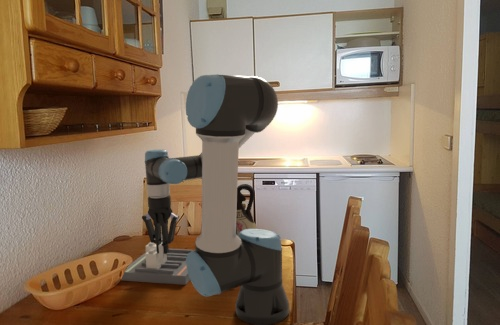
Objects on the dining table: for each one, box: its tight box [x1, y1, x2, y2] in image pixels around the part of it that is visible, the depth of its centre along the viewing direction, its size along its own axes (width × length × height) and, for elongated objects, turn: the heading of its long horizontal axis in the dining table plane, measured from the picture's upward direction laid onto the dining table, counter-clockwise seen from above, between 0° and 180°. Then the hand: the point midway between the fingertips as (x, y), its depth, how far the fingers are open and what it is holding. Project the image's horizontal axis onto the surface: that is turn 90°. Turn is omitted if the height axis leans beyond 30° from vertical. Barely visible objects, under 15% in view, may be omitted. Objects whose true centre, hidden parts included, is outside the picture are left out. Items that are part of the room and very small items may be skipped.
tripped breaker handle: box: [145, 248, 161, 269], centre depth 128 cm, size 3×4×7 cm
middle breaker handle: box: [145, 241, 156, 253], centre depth 135 cm, size 3×4×7 cm
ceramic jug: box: [236, 183, 259, 236], centre depth 139 cm, size 17×15×30 cm
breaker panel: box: [121, 248, 195, 286], centre depth 135 cm, size 22×24×4 cm
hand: (163, 262), depth 127 cm, fingers closed
